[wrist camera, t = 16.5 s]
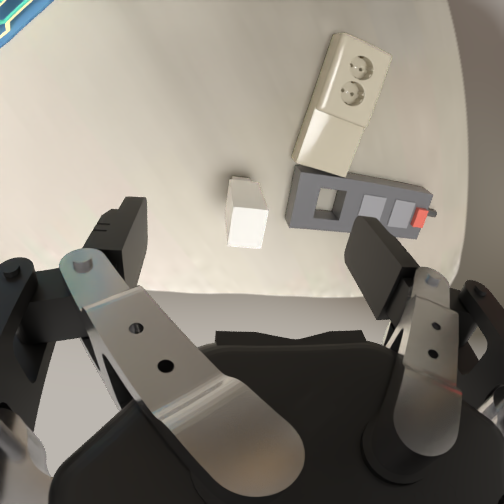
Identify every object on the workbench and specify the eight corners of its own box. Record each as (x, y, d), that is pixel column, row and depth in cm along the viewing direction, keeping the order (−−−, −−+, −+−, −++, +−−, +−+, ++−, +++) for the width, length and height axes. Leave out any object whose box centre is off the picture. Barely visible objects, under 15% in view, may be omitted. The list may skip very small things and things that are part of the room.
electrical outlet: (297, 165, 38) (344, 31, 29) (290, 155, 41) (332, 33, 32) (347, 180, 40) (394, 55, 31) (337, 169, 43) (379, 55, 34)
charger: (228, 170, 41) (233, 206, 32) (255, 172, 42) (268, 210, 32) (223, 201, 44) (227, 246, 34) (249, 204, 44) (260, 248, 35)
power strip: (295, 164, 42) (302, 174, 39) (440, 191, 46) (453, 200, 43) (284, 217, 46) (290, 230, 43) (424, 232, 50) (436, 243, 47)
